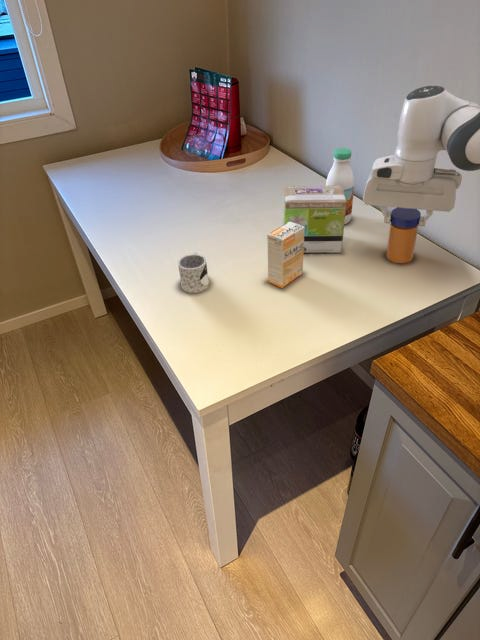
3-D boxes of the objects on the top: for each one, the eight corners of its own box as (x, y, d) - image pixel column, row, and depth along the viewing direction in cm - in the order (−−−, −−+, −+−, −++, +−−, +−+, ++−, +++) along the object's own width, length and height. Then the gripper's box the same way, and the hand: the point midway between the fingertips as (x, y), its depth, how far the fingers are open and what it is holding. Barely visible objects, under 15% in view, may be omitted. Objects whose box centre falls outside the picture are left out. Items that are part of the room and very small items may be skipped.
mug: (207, 292, 115) (205, 268, 111) (180, 293, 115) (176, 269, 111) (210, 269, 123) (208, 246, 119) (184, 270, 123) (181, 247, 119)
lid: (412, 230, 112) (413, 222, 111) (385, 223, 116) (386, 215, 115) (424, 218, 116) (425, 210, 115) (397, 211, 120) (398, 204, 118)
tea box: (283, 254, 126) (284, 202, 117) (283, 235, 134) (283, 185, 125) (342, 253, 125) (347, 200, 116) (338, 234, 133) (342, 183, 124)
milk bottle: (332, 228, 136) (337, 157, 124) (319, 217, 142) (322, 148, 129) (356, 222, 138) (363, 152, 125) (342, 211, 144) (347, 143, 131)
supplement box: (282, 289, 114) (283, 240, 106) (267, 282, 117) (266, 233, 109) (304, 274, 119) (305, 226, 111) (288, 267, 121) (289, 220, 113)
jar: (410, 249, 125) (416, 209, 117) (415, 263, 120) (422, 222, 112) (384, 250, 125) (389, 210, 118) (388, 263, 120) (394, 223, 113)
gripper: (463, 164, 106) (450, 221, 115) (368, 159, 112) (362, 213, 121) (464, 175, 102) (450, 234, 110) (365, 169, 108) (359, 225, 116)
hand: (403, 223), depth 116 cm, fingers closed on lid, 6 cm apart
